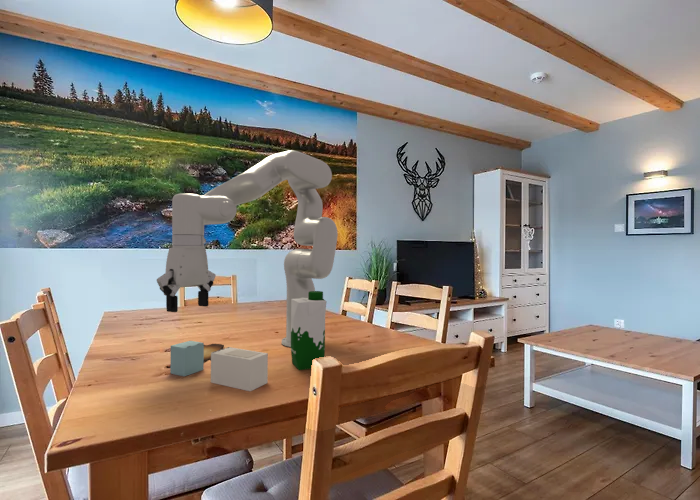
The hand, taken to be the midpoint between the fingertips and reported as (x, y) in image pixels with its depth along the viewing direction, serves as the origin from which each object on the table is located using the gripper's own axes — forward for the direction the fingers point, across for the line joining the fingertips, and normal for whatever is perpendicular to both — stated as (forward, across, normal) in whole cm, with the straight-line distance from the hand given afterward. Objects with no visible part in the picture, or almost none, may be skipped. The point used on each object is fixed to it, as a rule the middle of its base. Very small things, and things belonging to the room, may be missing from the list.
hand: (188, 308), depth 97 cm
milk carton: (+16, -19, +24) cm, 35 cm away
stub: (+16, 0, 0) cm, 16 cm away
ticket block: (+16, 0, +17) cm, 24 cm away
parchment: (+17, -12, -9) cm, 22 cm away
